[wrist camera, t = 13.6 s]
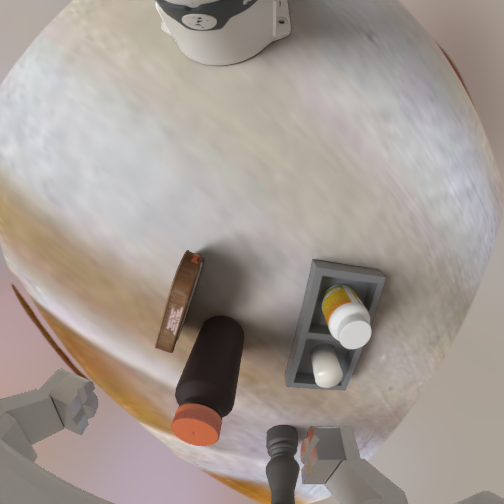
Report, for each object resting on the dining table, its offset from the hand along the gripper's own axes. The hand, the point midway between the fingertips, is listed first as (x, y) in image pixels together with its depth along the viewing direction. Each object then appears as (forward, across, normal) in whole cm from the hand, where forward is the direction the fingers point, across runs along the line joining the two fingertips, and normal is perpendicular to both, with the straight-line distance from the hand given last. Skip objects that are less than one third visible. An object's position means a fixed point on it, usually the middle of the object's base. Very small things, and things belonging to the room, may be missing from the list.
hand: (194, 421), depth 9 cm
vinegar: (+31, +2, +16) cm, 35 cm away
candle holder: (+31, -12, +39) cm, 51 cm away
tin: (+31, +8, +10) cm, 34 cm away
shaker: (+30, -14, +17) cm, 37 cm away
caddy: (+31, -14, +12) cm, 36 cm away
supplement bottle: (+30, -14, +7) cm, 34 cm away
